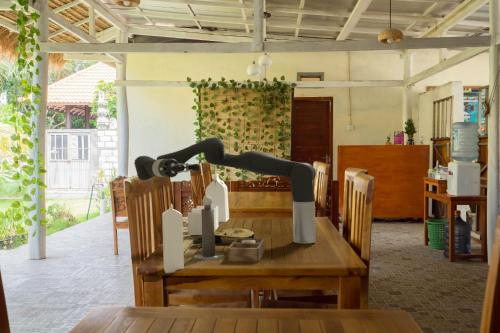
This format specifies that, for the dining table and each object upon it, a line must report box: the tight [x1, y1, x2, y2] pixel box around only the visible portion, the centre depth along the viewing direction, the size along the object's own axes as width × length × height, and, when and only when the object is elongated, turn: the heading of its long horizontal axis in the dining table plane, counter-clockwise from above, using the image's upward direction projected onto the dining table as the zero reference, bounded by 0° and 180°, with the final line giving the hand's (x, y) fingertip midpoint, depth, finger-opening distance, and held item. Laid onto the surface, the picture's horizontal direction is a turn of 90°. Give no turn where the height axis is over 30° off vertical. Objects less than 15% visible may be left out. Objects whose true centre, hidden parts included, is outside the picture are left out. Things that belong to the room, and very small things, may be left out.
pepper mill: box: [201, 195, 216, 257], centre depth 168 cm, size 5×5×22 cm
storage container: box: [187, 205, 220, 235], centre depth 226 cm, size 25×11×11 cm, turn 177°
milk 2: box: [205, 173, 230, 223], centre depth 259 cm, size 12×12×26 cm
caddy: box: [226, 237, 266, 263], centre depth 168 cm, size 11×18×6 cm, turn 172°
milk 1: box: [161, 203, 185, 274], centre depth 153 cm, size 6×6×22 cm
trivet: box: [193, 251, 225, 260], centre depth 169 cm, size 11×11×1 cm
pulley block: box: [191, 227, 255, 245], centre depth 197 cm, size 14×6×30 cm
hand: (189, 168), depth 176 cm, fingers open, 8 cm apart
